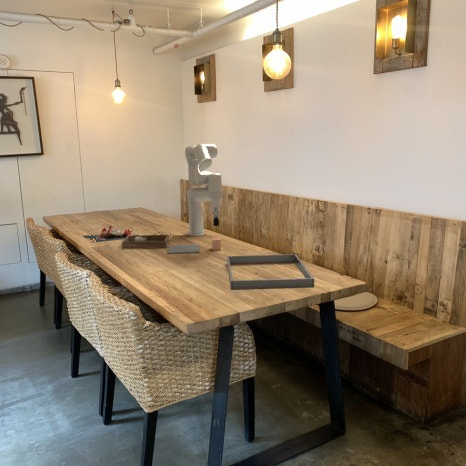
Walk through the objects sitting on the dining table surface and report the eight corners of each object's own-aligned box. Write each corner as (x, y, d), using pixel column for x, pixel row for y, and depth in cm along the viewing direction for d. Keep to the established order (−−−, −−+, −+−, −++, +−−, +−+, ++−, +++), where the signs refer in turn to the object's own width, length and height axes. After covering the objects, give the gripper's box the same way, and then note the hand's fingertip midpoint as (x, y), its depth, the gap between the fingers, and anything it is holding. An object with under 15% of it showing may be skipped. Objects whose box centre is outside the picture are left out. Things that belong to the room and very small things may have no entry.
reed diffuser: (131, 234, 286) (162, 227, 295) (132, 243, 290) (162, 236, 299) (137, 243, 279) (168, 236, 288) (137, 252, 283) (168, 245, 292)
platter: (133, 231, 332) (132, 219, 330) (143, 239, 308) (142, 226, 306) (82, 237, 318) (81, 224, 315) (88, 246, 294) (87, 232, 292)
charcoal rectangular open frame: (227, 263, 240) (226, 256, 240) (296, 261, 242) (296, 254, 241) (230, 290, 198) (230, 281, 197) (314, 287, 200) (314, 278, 199)
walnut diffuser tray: (127, 241, 295) (127, 235, 295) (169, 240, 297) (168, 234, 296) (122, 248, 277) (122, 242, 276) (166, 247, 278) (165, 241, 277)
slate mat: (170, 246, 280) (169, 245, 280) (199, 245, 281) (199, 244, 281) (167, 253, 263) (167, 252, 263) (199, 253, 264) (199, 251, 264)
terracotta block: (212, 248, 275) (212, 238, 274) (220, 247, 275) (220, 238, 274) (212, 250, 270) (212, 240, 269) (220, 249, 271) (220, 239, 269)
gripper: (208, 193, 275) (209, 222, 278) (208, 196, 258) (209, 227, 261) (221, 193, 275) (222, 221, 278) (222, 196, 258) (223, 226, 261)
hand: (216, 224), depth 270 cm, fingers open, 9 cm apart
